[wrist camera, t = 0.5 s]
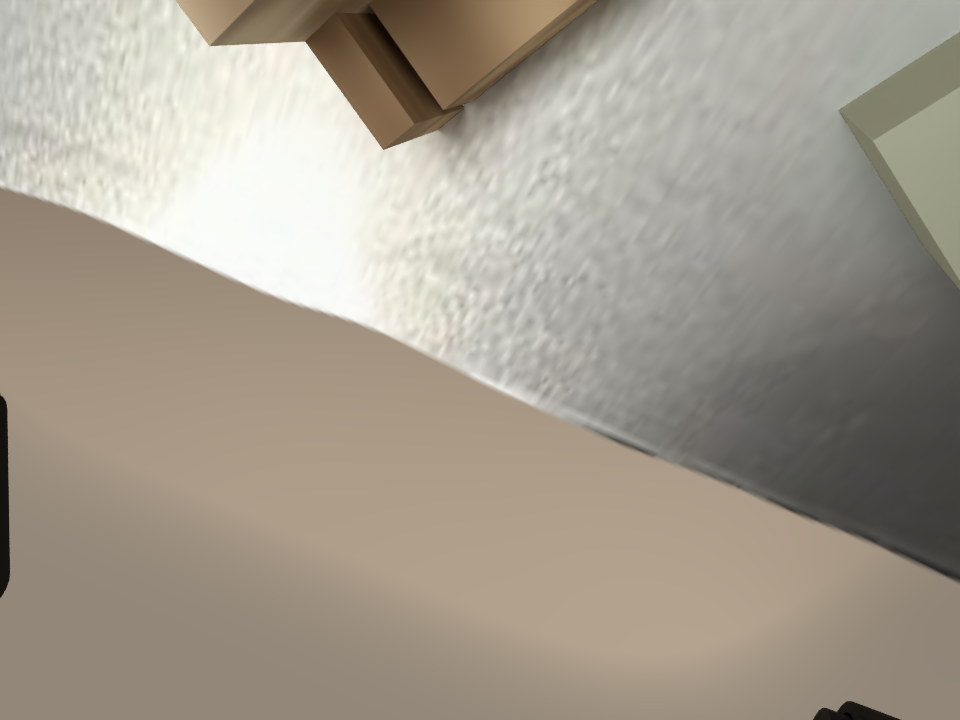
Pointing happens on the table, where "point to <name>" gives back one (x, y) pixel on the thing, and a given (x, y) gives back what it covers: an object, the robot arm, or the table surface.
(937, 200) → the cabinet box
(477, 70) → the brown toy sofa
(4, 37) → the table surface
